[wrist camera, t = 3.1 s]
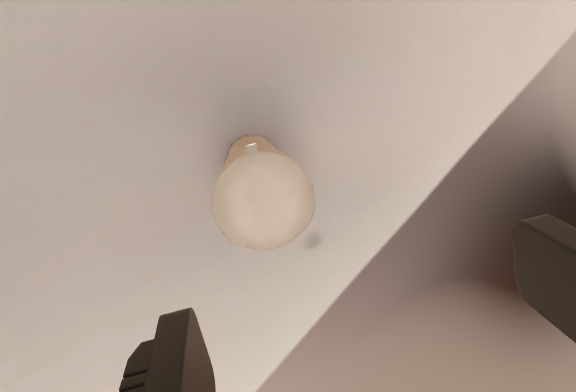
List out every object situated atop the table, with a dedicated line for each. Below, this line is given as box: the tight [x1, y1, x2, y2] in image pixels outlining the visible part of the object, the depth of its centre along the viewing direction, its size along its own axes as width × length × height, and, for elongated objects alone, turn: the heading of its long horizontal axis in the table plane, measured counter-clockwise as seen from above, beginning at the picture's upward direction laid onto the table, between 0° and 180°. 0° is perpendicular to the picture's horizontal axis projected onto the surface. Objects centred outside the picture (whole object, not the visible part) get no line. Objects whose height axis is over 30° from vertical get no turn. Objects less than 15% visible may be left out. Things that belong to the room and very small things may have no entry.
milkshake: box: [212, 135, 315, 250], centre depth 24 cm, size 4×5×10 cm
